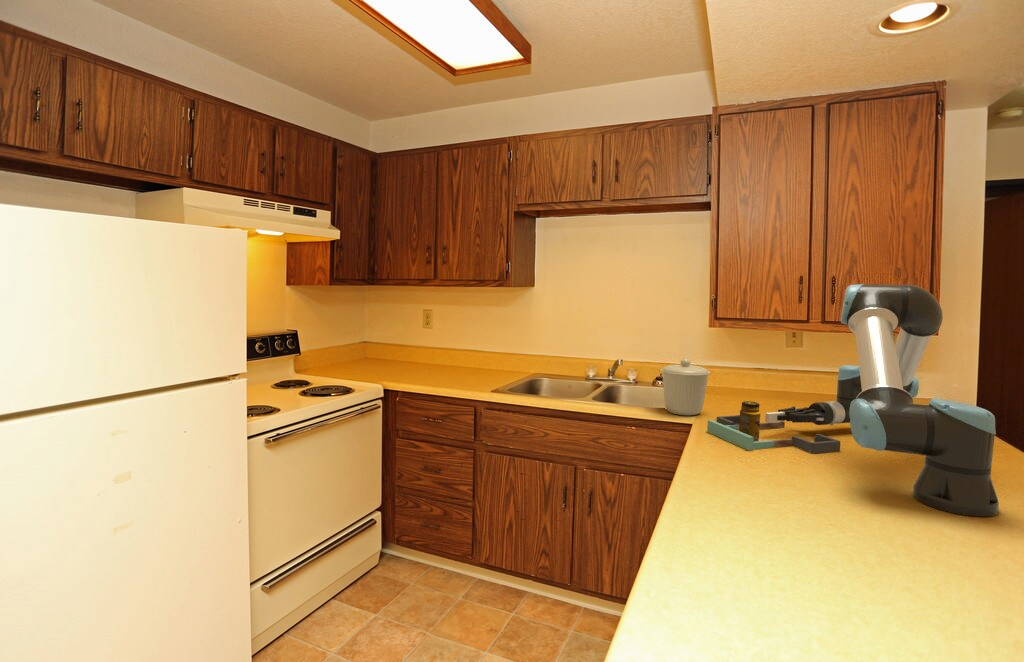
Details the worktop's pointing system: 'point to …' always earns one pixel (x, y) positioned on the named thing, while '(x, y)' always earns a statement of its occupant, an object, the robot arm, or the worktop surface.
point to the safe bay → (736, 436)
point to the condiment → (750, 419)
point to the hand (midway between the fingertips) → (766, 417)
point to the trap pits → (794, 438)
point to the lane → (781, 441)
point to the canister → (684, 388)
